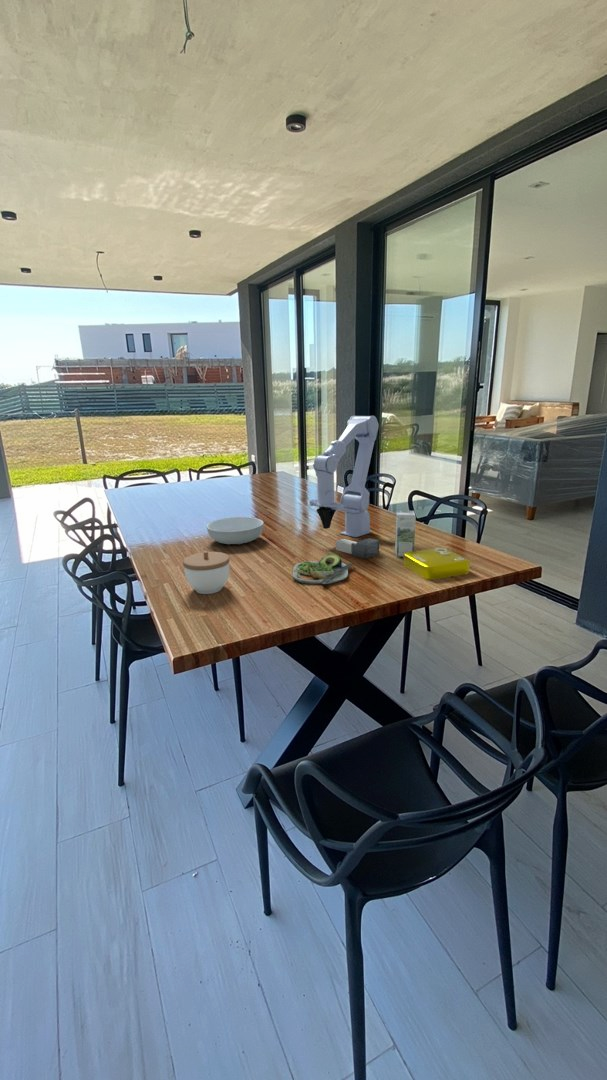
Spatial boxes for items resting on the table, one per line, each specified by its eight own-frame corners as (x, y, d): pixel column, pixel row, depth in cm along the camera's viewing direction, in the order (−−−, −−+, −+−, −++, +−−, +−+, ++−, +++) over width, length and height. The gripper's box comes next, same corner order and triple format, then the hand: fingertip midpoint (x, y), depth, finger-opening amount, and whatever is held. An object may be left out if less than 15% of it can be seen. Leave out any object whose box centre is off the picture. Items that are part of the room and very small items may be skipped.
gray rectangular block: (342, 548, 172) (342, 538, 171) (369, 555, 164) (369, 545, 163) (336, 550, 170) (335, 540, 169) (362, 557, 161) (362, 547, 160)
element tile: (400, 565, 153) (401, 551, 152) (442, 559, 158) (443, 545, 156) (427, 581, 140) (427, 566, 138) (471, 574, 144) (472, 559, 143)
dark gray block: (365, 550, 168) (365, 537, 167) (379, 553, 164) (379, 540, 163) (351, 554, 164) (351, 541, 162) (365, 558, 159) (365, 545, 158)
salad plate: (352, 589, 135) (352, 573, 134) (288, 589, 137) (287, 573, 136) (352, 566, 154) (352, 552, 153) (295, 566, 156) (295, 552, 154)
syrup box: (412, 552, 165) (413, 509, 161) (414, 557, 159) (415, 514, 155) (394, 552, 165) (395, 509, 161) (396, 557, 160) (397, 514, 156)
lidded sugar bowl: (211, 578, 146) (208, 542, 143) (240, 587, 139) (238, 549, 135) (176, 591, 137) (172, 553, 134) (206, 601, 129) (202, 562, 126)
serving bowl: (202, 538, 188) (200, 521, 186) (253, 531, 196) (252, 514, 195) (216, 553, 170) (214, 533, 168) (272, 544, 178) (271, 526, 176)
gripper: (303, 489, 173) (304, 526, 177) (333, 494, 163) (334, 533, 167) (316, 486, 178) (317, 522, 182) (347, 491, 168) (347, 529, 172)
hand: (326, 527), depth 174 cm, fingers closed
